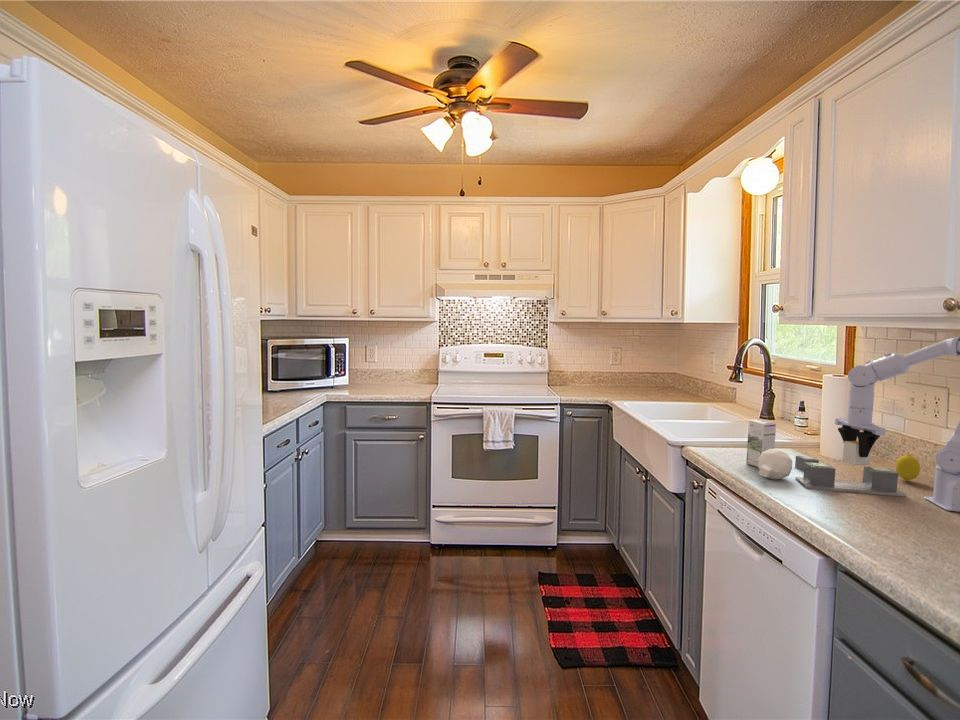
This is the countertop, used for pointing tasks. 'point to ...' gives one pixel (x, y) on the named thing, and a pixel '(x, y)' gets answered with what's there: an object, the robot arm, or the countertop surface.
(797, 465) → the relay block
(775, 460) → the beige faceted rounded lump
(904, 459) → the lemon
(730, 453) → the countertop surface
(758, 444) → the syrup box
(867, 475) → the rail
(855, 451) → the block
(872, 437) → the robot arm
